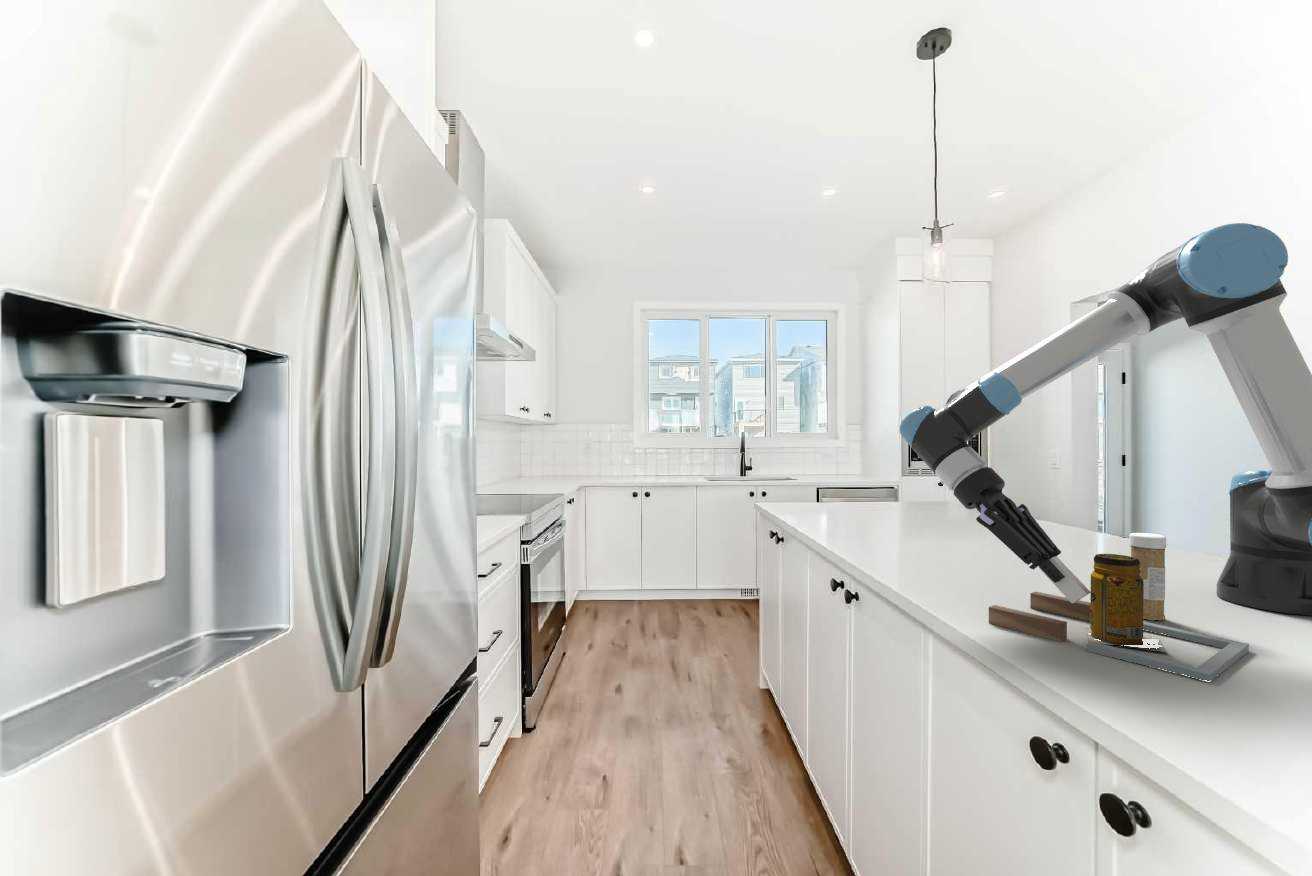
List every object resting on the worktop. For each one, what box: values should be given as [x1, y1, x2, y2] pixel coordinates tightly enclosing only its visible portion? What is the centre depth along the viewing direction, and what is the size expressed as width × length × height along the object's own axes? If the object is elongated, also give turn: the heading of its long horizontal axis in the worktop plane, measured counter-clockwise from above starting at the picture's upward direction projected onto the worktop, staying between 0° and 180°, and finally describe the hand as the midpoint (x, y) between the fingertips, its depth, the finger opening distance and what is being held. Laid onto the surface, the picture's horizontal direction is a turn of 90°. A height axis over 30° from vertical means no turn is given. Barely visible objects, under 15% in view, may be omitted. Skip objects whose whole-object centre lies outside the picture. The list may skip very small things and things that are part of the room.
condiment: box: [1085, 553, 1169, 653], centre depth 83 cm, size 7×8×12 cm
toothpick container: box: [1128, 532, 1167, 622], centre depth 94 cm, size 5×5×14 cm
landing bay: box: [1086, 620, 1250, 681], centre depth 80 cm, size 18×12×1 cm
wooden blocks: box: [988, 591, 1091, 643], centre depth 92 cm, size 16×10×2 cm, turn 124°
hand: (1081, 597), depth 87 cm, fingers closed
